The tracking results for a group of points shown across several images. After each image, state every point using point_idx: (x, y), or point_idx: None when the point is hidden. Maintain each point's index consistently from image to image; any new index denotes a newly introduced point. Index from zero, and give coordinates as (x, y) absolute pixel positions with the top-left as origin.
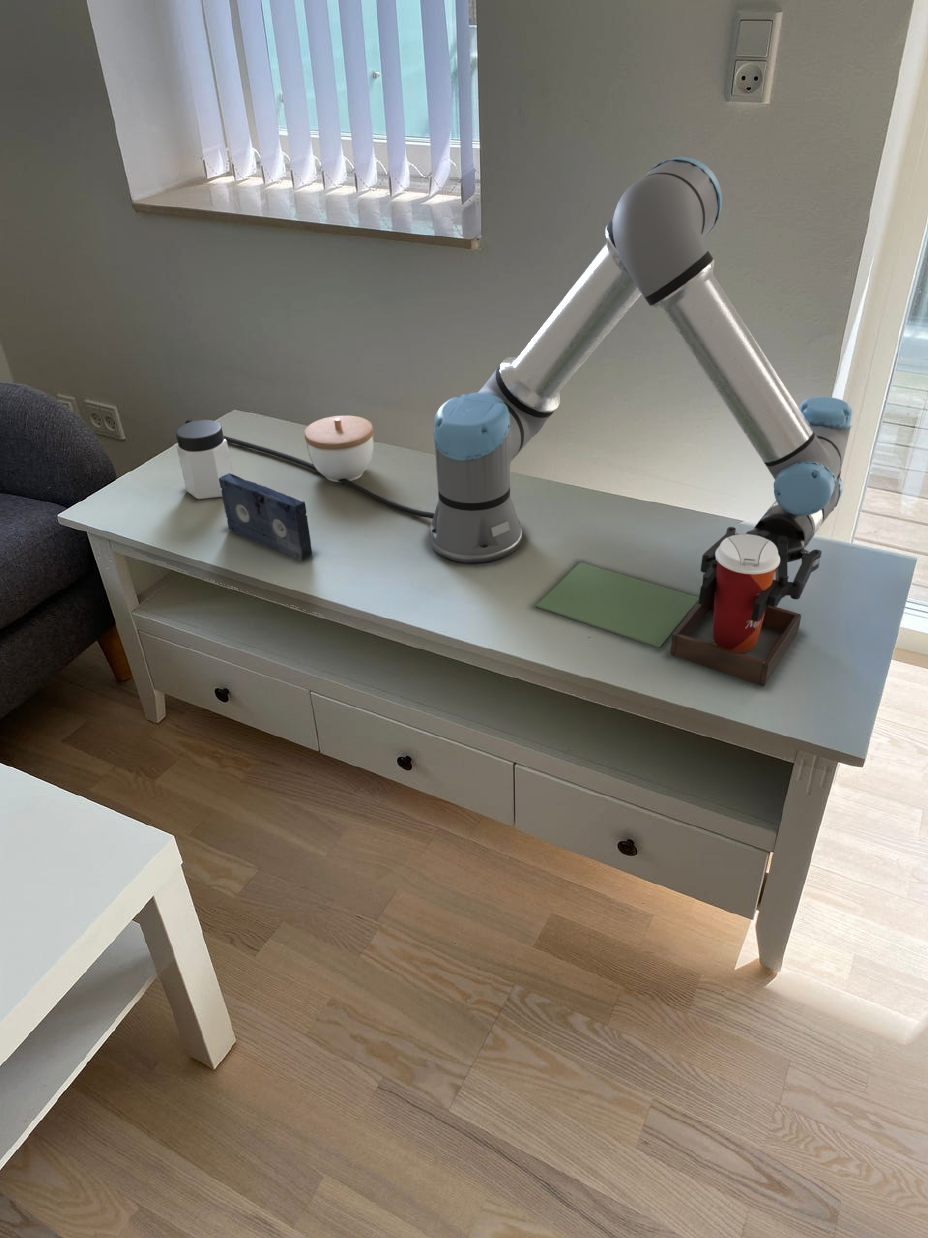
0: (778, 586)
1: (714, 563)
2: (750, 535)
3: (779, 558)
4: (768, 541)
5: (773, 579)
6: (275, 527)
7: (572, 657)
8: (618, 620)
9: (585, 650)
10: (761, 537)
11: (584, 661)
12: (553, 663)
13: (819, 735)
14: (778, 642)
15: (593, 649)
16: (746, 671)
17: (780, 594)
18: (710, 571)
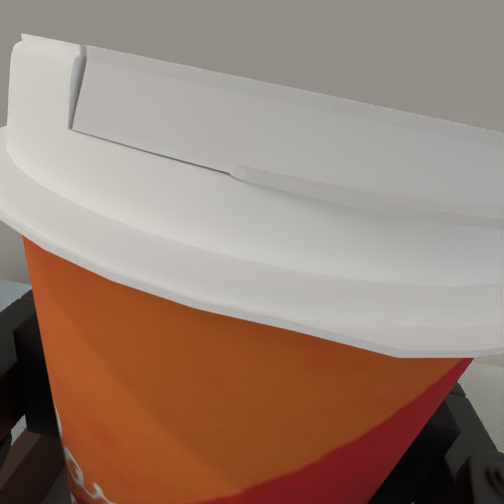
0: (8, 346)
1: (499, 452)
2: (421, 119)
3: (6, 127)
4: (96, 80)
5: (40, 338)
6: None
7: (483, 386)
8: None
9: (490, 410)
10: (230, 79)
11: (458, 380)
12: (487, 365)
13: (13, 293)
14: (32, 440)
15: (483, 418)
16: None
17: (24, 299)
18: (447, 398)
